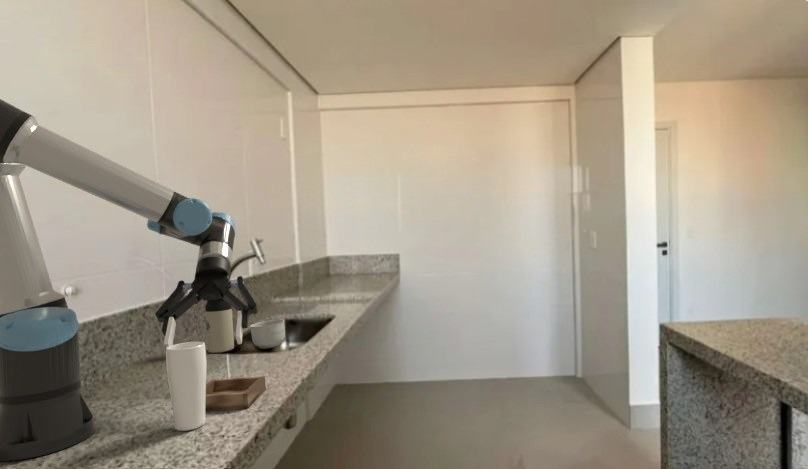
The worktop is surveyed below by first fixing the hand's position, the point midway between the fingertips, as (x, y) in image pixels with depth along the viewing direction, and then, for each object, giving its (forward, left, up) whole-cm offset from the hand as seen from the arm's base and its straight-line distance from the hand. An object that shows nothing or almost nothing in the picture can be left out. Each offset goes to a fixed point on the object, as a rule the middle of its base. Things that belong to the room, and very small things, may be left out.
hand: (203, 344), depth 95 cm
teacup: (-34, +50, -14) cm, 62 cm away
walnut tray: (-1, +6, -13) cm, 15 cm away
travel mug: (-46, +40, -14) cm, 63 cm away
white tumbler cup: (+4, -7, -14) cm, 16 cm away
